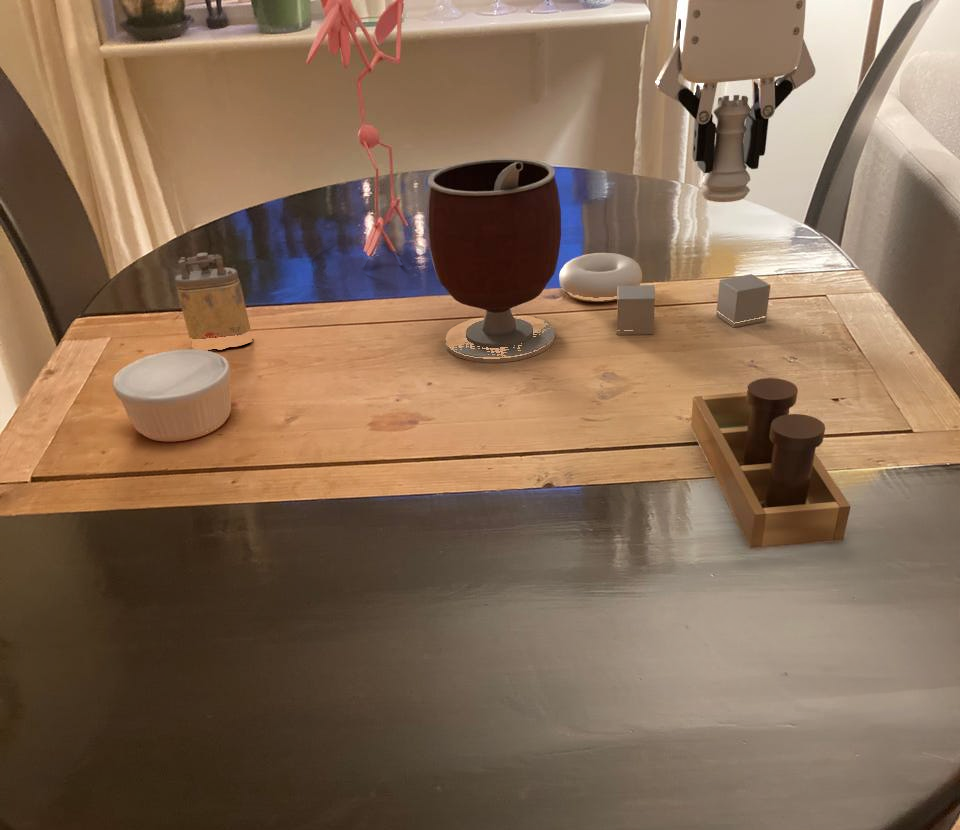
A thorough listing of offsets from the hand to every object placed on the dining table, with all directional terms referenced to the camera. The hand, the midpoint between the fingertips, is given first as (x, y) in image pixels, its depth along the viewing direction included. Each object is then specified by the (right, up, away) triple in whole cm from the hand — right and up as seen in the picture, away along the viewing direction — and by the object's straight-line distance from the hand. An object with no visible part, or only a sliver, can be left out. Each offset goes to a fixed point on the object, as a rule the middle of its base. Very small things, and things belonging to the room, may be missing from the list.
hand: (727, 165), depth 86 cm
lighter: (-52, -9, +24) cm, 58 cm away
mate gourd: (-20, -10, +20) cm, 30 cm away
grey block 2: (+7, -7, +21) cm, 23 cm away
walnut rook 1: (+1, -29, -7) cm, 30 cm away
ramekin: (-52, -21, +10) cm, 57 cm away
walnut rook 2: (+1, -33, -12) cm, 35 cm away
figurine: (-39, +11, +46) cm, 61 cm away
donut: (-8, -1, +30) cm, 31 cm away
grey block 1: (-5, -8, +21) cm, 23 cm away
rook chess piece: (0, -2, +2) cm, 3 cm away
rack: (+1, -30, -6) cm, 31 cm away
